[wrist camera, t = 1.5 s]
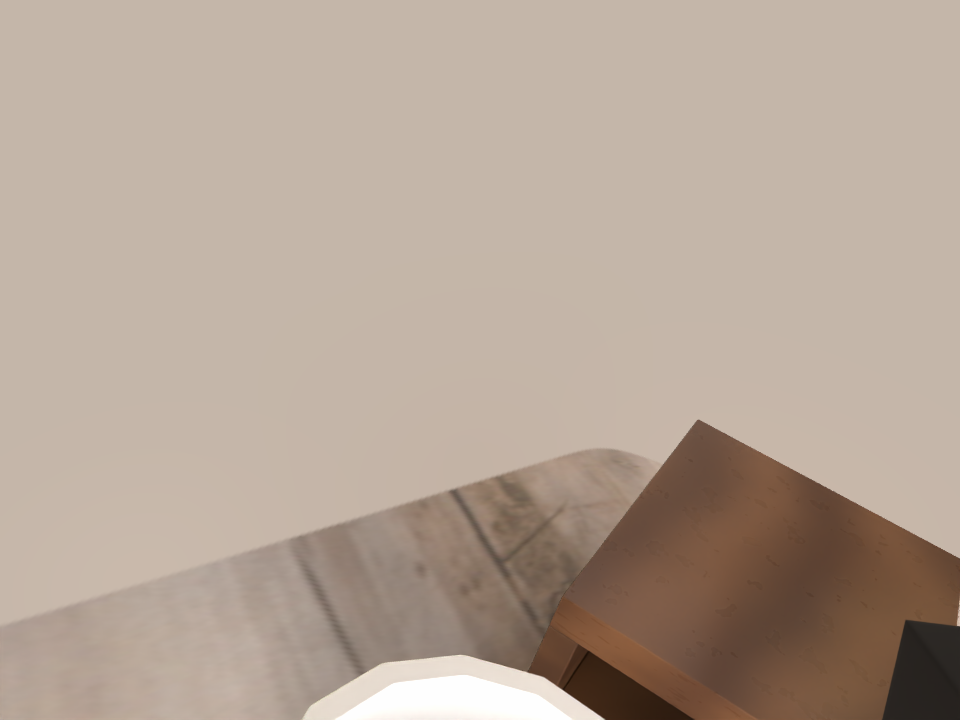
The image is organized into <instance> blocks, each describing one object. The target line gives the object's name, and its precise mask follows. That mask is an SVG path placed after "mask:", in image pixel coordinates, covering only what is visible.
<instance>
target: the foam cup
mask: <svg viewBox="0 0 960 720" xmlns="http://www.w3.org/2000/svg"><path fill="white" fill-rule="evenodd" d="M302 720H605V719H603V718H602V717H600V716H599V715H598V714H596V713H595V712H593V711H592V710H590V709H589V708H588V707H586V706H585V705H583V704H582V703H580V702H579V701H577V700H576V699H575V698H573V697H572V696H570V695H569V694H567V693H566V692H564V691H563V690H562V689H560V688H559V687H557V686H556V685H554V684H553V683H552V682H550V681H549V680H547V679H546V678H544V677H541V676H538V675H534V674H531V673H527V672H523V671H520V670H516V669H513V668H509V667H506V666H502V665H498V664H495V663H491V662H488V661H484V660H480V659H477V658H473V657H470V656H466V655H454V656H445V657H435V658H425V659H416V660H406V661H397V662H387V663H381V664H380V665H378V666H376V667H375V668H373V669H371V670H369V671H368V672H366V673H364V674H363V675H361V676H359V677H358V678H356V679H354V680H353V681H351V682H349V683H347V684H346V685H344V686H342V687H341V688H339V689H337V690H336V691H334V692H332V693H331V694H329V695H327V696H326V697H324V698H322V699H320V700H319V701H317V702H315V703H314V704H312V705H311V706H310V707H309V709H308V710H307V712H306V713H305V715H304V717H303V718H302Z"/></svg>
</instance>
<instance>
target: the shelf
mask: <svg viewBox="0 0 960 720" xmlns="http://www.w3.org/2000/svg"><path fill="white" fill-rule="evenodd" d="M959 600H960V558H958V557H956V556H954V555H952V554H950V553H948V552H946V551H945V550H943V549H941V548H939V547H937V546H935V545H933V544H931V543H929V542H928V541H926V540H924V539H922V538H920V537H918V536H916V535H914V534H912V533H910V532H909V531H907V530H905V529H903V528H901V527H899V526H897V525H896V524H894V523H892V522H890V521H888V520H886V519H884V518H882V517H881V516H879V515H877V514H875V513H873V512H871V511H869V510H867V509H865V508H864V507H862V506H860V505H858V504H856V503H854V502H852V501H850V500H849V499H847V498H845V497H843V496H841V495H839V494H837V493H836V492H834V491H832V490H830V489H828V488H826V487H824V486H822V485H821V484H819V483H816V482H815V481H813V480H811V479H809V478H807V477H805V476H804V475H802V474H800V473H798V472H796V471H794V470H792V469H790V468H789V467H787V466H785V465H783V464H781V463H779V462H777V461H775V460H774V459H772V458H770V457H768V456H766V455H764V454H762V453H760V452H759V451H757V450H755V449H753V448H751V447H749V446H747V445H745V444H744V443H741V442H739V441H738V440H736V439H734V438H732V437H730V436H728V435H727V434H725V433H723V432H721V431H719V430H717V429H715V428H713V427H712V426H710V425H708V424H706V423H704V422H702V421H700V420H697V421H696V422H695V424H694V425H693V426H692V428H691V429H690V430H689V432H688V433H687V434H686V436H685V437H684V438H683V439H682V441H681V442H680V443H679V445H678V446H677V447H676V449H675V450H674V451H673V453H672V454H671V455H670V456H669V458H668V459H667V460H666V462H665V463H664V464H663V465H662V467H661V468H660V469H659V471H658V472H657V473H656V475H655V476H654V477H653V479H652V480H651V481H650V482H649V484H648V485H647V486H646V488H645V489H644V490H643V492H642V493H641V494H640V496H639V497H638V498H637V499H636V501H635V502H634V503H633V505H632V506H631V507H630V509H629V510H628V511H627V512H626V514H625V515H624V516H623V518H622V519H621V520H620V522H619V523H618V524H617V526H616V527H615V528H614V529H613V531H612V532H611V533H610V535H609V536H608V537H607V539H606V540H605V541H604V543H603V544H602V545H601V546H600V548H599V549H598V550H597V552H596V553H595V554H594V556H593V557H592V558H591V559H590V561H589V562H588V563H587V565H586V566H585V567H584V569H583V570H582V571H581V573H580V574H579V575H578V576H577V578H576V579H575V580H574V582H573V583H572V584H571V586H570V587H569V588H568V589H567V591H566V592H565V593H564V595H563V596H562V598H561V600H560V602H559V605H558V607H557V609H556V611H555V613H554V616H553V618H552V620H551V622H550V625H549V627H548V629H547V631H546V633H545V636H544V638H543V640H542V642H541V644H540V647H539V649H538V651H537V653H536V655H535V658H534V660H533V662H532V664H531V666H530V669H529V671H528V673H531V674H534V675H538V676H541V677H544V678H546V679H547V680H549V681H550V682H552V683H553V684H554V685H556V686H557V687H559V688H560V689H562V690H563V691H564V692H566V693H567V694H569V695H570V696H572V697H573V698H575V699H576V700H577V701H579V702H580V703H582V704H583V705H585V706H586V707H588V708H589V709H590V710H592V711H593V712H595V713H596V714H598V715H599V716H600V717H602V718H603V719H605V720H882V718H883V714H884V710H885V705H886V701H887V697H888V693H889V688H890V684H891V680H892V675H893V671H894V667H895V663H896V658H897V654H898V650H899V645H900V641H901V637H902V632H903V628H904V624H905V620H913V621H921V622H929V623H936V624H944V625H952V626H957V619H958V610H959Z"/></svg>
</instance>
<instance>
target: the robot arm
mask: <svg viewBox="0 0 960 720" xmlns="http://www.w3.org/2000/svg"><path fill="white" fill-rule="evenodd" d="M882 720H960V626H952V625H944V624H936V623H929V622H921V621H913V620H905V624H904V628H903V632H902V637H901V641H900V645H899V650H898V654H897V658H896V663H895V667H894V671H893V675H892V680H891V684H890V688H889V693H888V697H887V701H886V705H885V710H884V714H883V718H882Z"/></svg>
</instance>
